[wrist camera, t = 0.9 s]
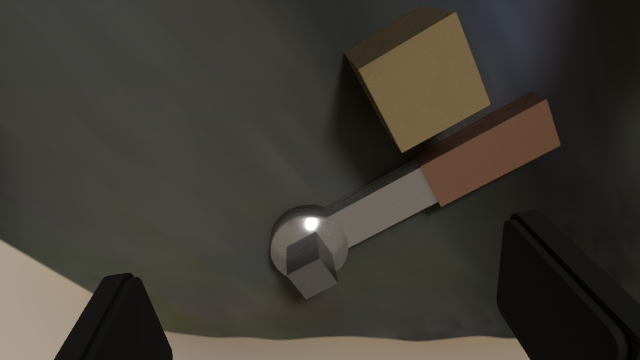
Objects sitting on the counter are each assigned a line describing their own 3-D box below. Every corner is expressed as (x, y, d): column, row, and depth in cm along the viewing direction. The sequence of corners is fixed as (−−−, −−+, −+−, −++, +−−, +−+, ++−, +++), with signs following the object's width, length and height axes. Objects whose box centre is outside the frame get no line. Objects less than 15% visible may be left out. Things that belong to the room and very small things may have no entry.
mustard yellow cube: (421, 5, 27) (455, 11, 22) (452, 81, 29) (490, 104, 24) (343, 52, 28) (358, 69, 23) (380, 122, 30) (401, 152, 25)
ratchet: (527, 79, 30) (575, 98, 25) (548, 147, 33) (595, 176, 28) (256, 228, 34) (252, 270, 29) (296, 277, 36) (298, 323, 32)
